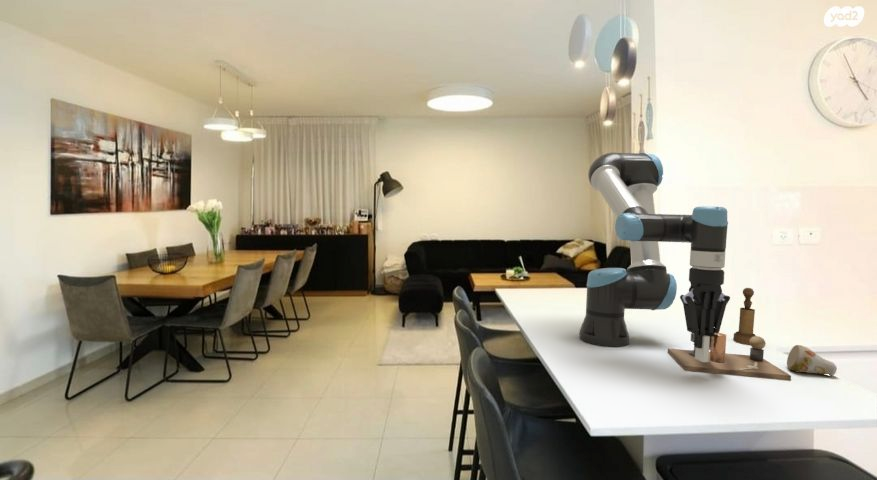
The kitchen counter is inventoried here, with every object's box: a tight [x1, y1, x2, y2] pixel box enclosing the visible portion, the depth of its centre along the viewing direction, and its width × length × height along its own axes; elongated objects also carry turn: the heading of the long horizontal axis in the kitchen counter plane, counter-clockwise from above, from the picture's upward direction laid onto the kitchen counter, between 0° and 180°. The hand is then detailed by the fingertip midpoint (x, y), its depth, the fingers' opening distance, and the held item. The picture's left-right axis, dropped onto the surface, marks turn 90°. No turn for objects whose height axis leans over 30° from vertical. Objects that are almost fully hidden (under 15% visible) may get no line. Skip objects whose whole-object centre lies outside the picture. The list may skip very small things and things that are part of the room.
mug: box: [786, 344, 838, 377], centre depth 115 cm, size 8×10×10 cm
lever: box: [690, 332, 727, 363], centre depth 118 cm, size 17×4×7 cm, turn 167°
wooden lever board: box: [667, 335, 792, 381], centre depth 119 cm, size 24×16×8 cm, turn 77°
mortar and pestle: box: [732, 287, 757, 345], centre depth 143 cm, size 7×6×18 cm
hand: (701, 360), depth 110 cm, fingers closed
